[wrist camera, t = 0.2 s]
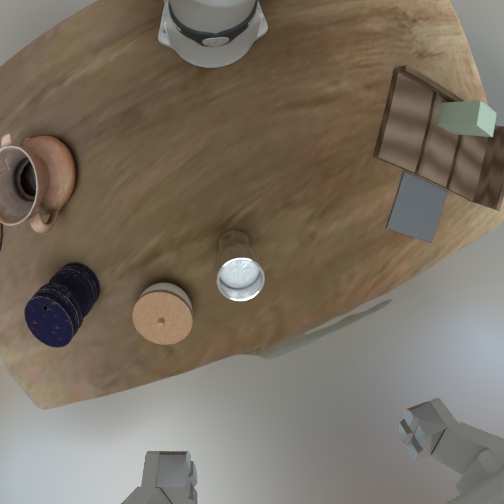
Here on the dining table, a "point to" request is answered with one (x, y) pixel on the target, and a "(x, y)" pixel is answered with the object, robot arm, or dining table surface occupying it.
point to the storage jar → (62, 305)
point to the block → (467, 118)
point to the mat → (416, 208)
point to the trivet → (1, 234)
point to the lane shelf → (438, 142)
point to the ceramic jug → (35, 181)
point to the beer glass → (238, 267)
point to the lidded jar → (163, 314)
